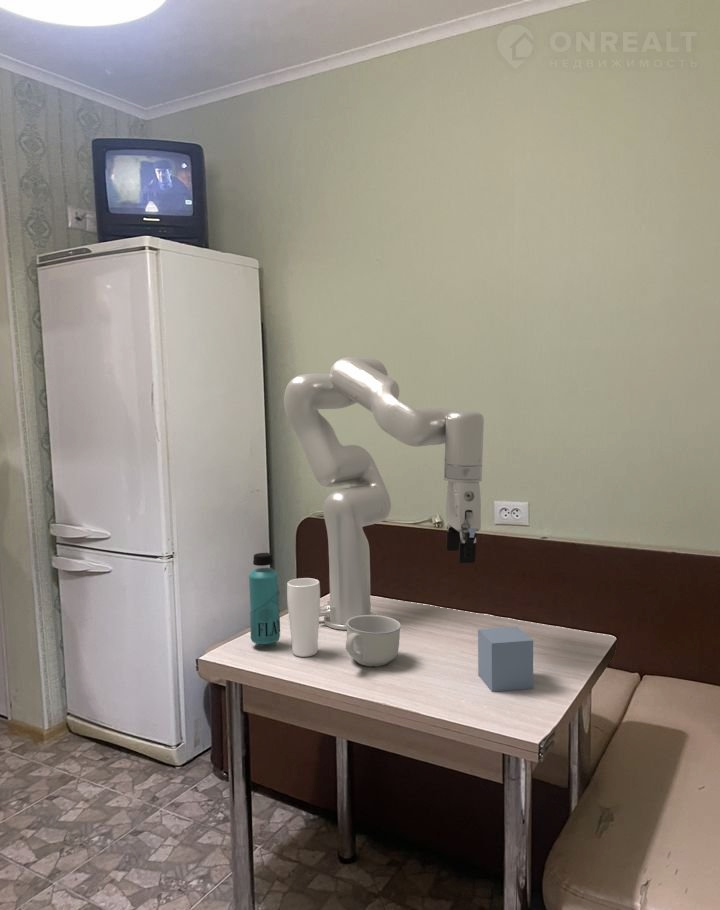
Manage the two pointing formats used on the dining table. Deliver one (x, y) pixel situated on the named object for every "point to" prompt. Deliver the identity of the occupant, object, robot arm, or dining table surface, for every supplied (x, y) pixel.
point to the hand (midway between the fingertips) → (460, 556)
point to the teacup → (372, 639)
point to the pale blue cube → (505, 658)
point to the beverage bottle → (264, 601)
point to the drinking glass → (304, 615)
